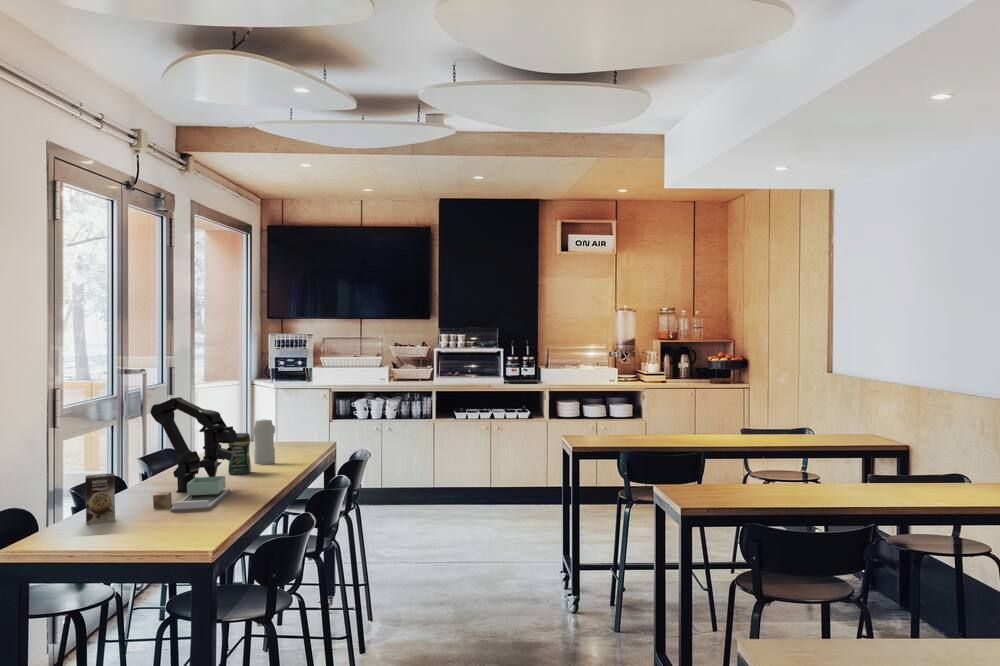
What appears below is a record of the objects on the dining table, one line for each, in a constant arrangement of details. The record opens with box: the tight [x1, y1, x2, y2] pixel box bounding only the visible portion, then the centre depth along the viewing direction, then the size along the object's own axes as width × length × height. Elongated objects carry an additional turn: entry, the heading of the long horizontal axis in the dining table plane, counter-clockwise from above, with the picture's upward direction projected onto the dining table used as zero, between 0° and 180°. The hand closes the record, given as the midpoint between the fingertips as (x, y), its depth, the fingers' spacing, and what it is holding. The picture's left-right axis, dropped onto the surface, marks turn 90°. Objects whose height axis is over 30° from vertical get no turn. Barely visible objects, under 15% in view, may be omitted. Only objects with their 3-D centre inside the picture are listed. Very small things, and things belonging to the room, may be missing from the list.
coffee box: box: [84, 472, 116, 525], centre depth 263 cm, size 9×6×16 cm
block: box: [152, 491, 173, 509], centre depth 283 cm, size 5×5×5 cm
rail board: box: [170, 487, 231, 513], centre depth 289 cm, size 14×30×3 cm, turn 7°
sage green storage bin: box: [186, 475, 227, 497], centre depth 296 cm, size 12×12×6 cm
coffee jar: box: [227, 432, 252, 475], centre depth 344 cm, size 10×8×19 cm
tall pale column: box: [252, 418, 276, 465], centre depth 366 cm, size 11×4×22 cm, turn 96°
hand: (213, 481), depth 305 cm, fingers closed
